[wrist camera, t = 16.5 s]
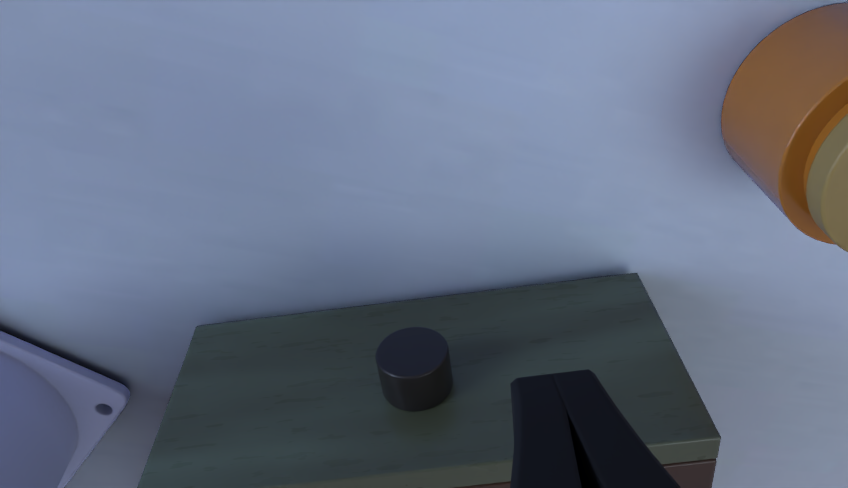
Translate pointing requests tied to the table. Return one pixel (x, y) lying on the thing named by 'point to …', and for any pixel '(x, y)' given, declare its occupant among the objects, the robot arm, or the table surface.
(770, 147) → the jar
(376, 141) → the table surface
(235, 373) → the drawer
